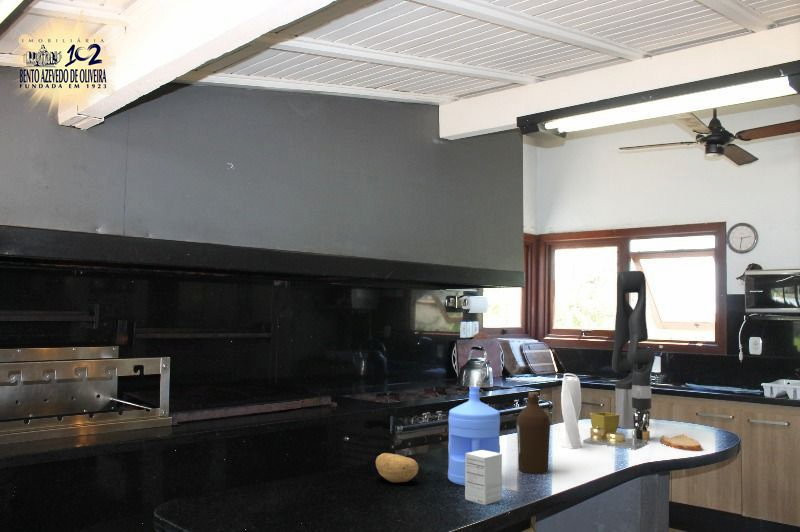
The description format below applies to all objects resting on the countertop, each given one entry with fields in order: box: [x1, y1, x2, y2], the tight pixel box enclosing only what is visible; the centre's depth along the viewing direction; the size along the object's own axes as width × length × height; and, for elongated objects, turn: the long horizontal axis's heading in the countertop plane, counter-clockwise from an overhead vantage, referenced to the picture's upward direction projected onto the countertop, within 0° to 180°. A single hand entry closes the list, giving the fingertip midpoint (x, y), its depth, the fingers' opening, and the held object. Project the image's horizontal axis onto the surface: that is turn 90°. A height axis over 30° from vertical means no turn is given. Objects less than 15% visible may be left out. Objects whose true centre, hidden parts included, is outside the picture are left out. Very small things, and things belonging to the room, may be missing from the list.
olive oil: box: [516, 391, 551, 475], centre depth 227 cm, size 11×11×25 cm
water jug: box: [447, 386, 501, 487], centre depth 213 cm, size 16×16×28 cm
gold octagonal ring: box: [633, 429, 651, 441], centre depth 284 cm, size 6×6×4 cm
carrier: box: [583, 427, 648, 450], centre depth 275 cm, size 16×20×6 cm
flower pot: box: [589, 411, 619, 435], centre depth 292 cm, size 9×9×9 cm
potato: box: [375, 452, 419, 483], centre depth 209 cm, size 10×14×8 cm
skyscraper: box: [560, 372, 582, 450], centre depth 267 cm, size 8×8×28 cm
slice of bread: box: [659, 434, 703, 452], centre depth 273 cm, size 18×18×4 cm
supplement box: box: [464, 450, 503, 506], centre depth 191 cm, size 7×7×13 cm
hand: (641, 438), depth 284 cm, fingers closed on gold octagonal ring, 5 cm apart
